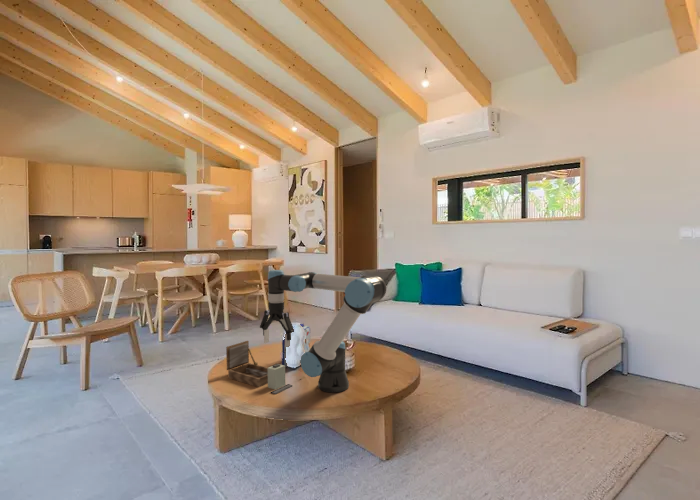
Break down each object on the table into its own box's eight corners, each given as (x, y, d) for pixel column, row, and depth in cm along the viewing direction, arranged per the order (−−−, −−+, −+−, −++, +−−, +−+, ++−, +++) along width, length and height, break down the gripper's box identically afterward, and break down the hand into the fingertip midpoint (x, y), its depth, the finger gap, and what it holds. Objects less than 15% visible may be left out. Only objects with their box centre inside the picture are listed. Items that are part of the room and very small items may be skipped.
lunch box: (296, 355, 254) (295, 320, 253) (312, 356, 252) (312, 320, 251) (279, 371, 227) (279, 331, 226) (297, 372, 225) (297, 332, 224)
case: (279, 380, 213) (278, 347, 212) (258, 389, 202) (258, 354, 201) (247, 371, 226) (247, 340, 225) (226, 379, 215) (226, 346, 214)
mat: (292, 386, 205) (292, 385, 205) (275, 394, 195) (275, 393, 195) (277, 382, 211) (277, 380, 211) (260, 389, 201) (260, 388, 201)
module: (285, 385, 205) (285, 364, 204) (275, 390, 199) (275, 368, 198) (278, 383, 207) (277, 362, 207) (267, 388, 202) (267, 366, 201)
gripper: (301, 302, 200) (301, 346, 201) (262, 298, 213) (263, 339, 215) (290, 305, 194) (291, 350, 195) (252, 300, 207) (252, 342, 208)
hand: (276, 344), depth 205 cm, fingers open, 13 cm apart
